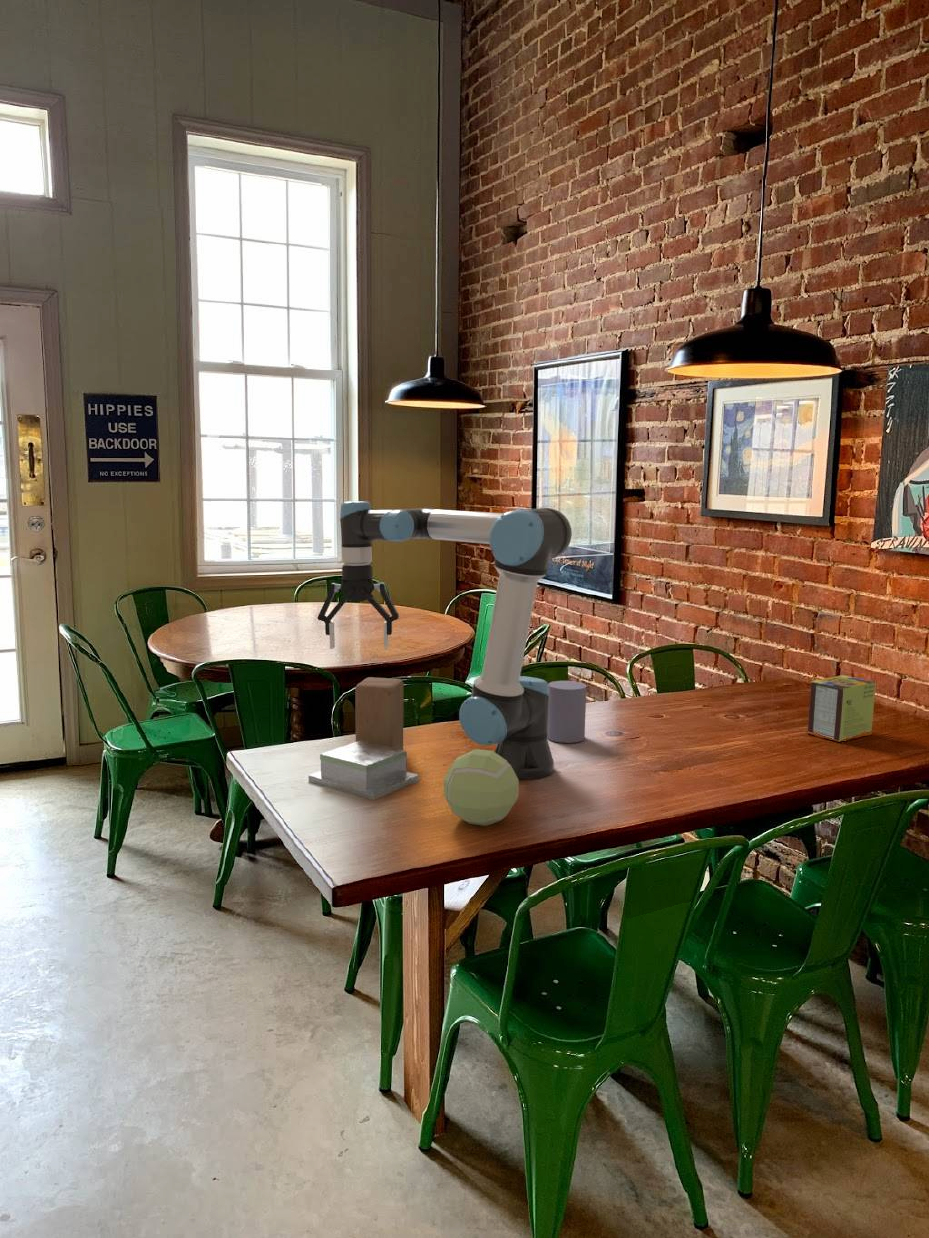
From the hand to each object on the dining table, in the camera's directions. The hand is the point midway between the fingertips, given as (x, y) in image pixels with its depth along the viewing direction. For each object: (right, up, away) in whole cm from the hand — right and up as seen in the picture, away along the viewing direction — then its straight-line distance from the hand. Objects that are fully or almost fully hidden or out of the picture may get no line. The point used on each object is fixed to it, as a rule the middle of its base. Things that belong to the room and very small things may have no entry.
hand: (359, 647), depth 236 cm
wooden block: (+5, -28, 0) cm, 29 cm away
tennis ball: (+30, -35, -41) cm, 62 cm away
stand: (+3, -31, -17) cm, 35 cm away
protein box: (+132, -26, +27) cm, 137 cm away
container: (+54, -26, +20) cm, 63 cm away
